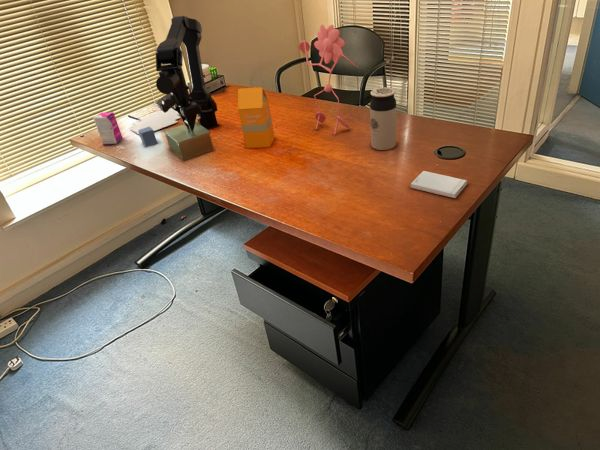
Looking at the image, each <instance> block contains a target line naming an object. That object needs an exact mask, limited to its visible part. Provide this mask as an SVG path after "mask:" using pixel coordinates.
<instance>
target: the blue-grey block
mask: <svg viewBox="0 0 600 450" xmlns="http://www.w3.org/2000/svg"><path fill="white" fill-rule="evenodd" d="M138 132H139V134H140V135H139V134H138V135H139V137H140V141H141V143H142V145H143V146H144V147H146V148H147V147H150V146H153V145H156V144H158V140H157V137H156V134H155V131H153V129H152V128H151V127H146V128H143V129H140V130H138Z"/></svg>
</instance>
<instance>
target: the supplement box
mask: <svg viewBox="0 0 600 450" xmlns="http://www.w3.org/2000/svg"><path fill="white" fill-rule="evenodd" d="M93 121H94V124H95V126H96V129H97V132H98V134H99V137H100V139H101V143H102V145H103V146H115V145H117V144H118V143H119V142H121V141H122V140H123V139H124V138H123V135H122V132H121V130H120V126H119V124H118V121H117V118H116V116H115V113H114V112H113V111H110V112H108V111H107V112H100V113H98V114H97V115H96V116H94V117H93Z"/></svg>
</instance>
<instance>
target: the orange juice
mask: <svg viewBox="0 0 600 450" xmlns="http://www.w3.org/2000/svg"><path fill="white" fill-rule="evenodd" d="M237 111H238V116H239V120H240V125H241V129H242V130H241V131H242V134H243V138H244V143H245V149H255V148H271V146H272V144H273V142H274V140H275V131H274V127H273V119H272V114H271V109H270V103H269V98H268V96H267V94H266V92H265V90H264V88H263V86H258V87H257V86H256V87H243V88H241V87H240V88H237Z"/></svg>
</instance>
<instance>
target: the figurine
mask: <svg viewBox="0 0 600 450" xmlns="http://www.w3.org/2000/svg"><path fill="white" fill-rule="evenodd" d="M340 35H341V32H340V30H339V29H337V28H335V26H334V25H333V24H330V25H329V26H327V28H326V26H325V25H324V24H321V25H320V26H319V31H317V32H316V38H317V40H315V41H314V43H313V45H314V48H316V49H317V50H318V51H319V52H318V55H319V57H321V58H320V61H319V63H309V58H308V52H309V51H310V49H311V45H310V43H309V42H308V41H307V40H305V39H304V40H302V41H300V43H299V45H298V48H299V50H300V51H301V52H302V53H303V54H305V59H306V60H305V61H306V64H307V66H318V67H321V68H323V69H324V70H325V71H327V72H329V74H328V75H329V76H328V81H327V84H326V85H324V88H323V90H321V91H319V92H317V93H315V94H314V95H313V98H314V101H315V104H316V107H317V110H318V112H316V113H315V119H316V121H317V122H316V125H315V130H318V128H319V123H321V124H323V123H324V122H325V121H326V119H327V116H326V114H325V113H324V112H322V111H321V110H320V108H319V104H318V101H317V98H316V96H318V95H320V94H321V93H323V92H326V93H331V92H332V93H333V95H334V96H335V97H336V100H337V111H338V112H337V113H338V115H331V116H328V118H331V117H332V118H333V117H335V119H336V125H335V128H334V133H333V135H336V134H337V131H338V126H339V123H340V124H341V125H342V126H344V127H345V128H347V129H348V130H350V128H351V127H350V126H349V124H348V123H347V122H346V121H345V120H344V119H343V118H345V115H340V99H339V97H338V96H337V94H336V93H335V91H334V90H333V85H331V84H330V82H331V76H332V73H333V71H334V68H335V67H336V65H337V64H338V63H339V60H340V58H342V57H344V58H345V59H346V60H347V61H348V62H350V63H351V64H352V65H353V66H354V67H356V68H359V66H358V65H357V64H355V63H354V62H353V61H352V60H351V59H350V58H348V57H347V56H346V55H344V52H343V49H342V48H343V47H344V46H345V45H346V42H345V41H344V39H343V38H341V37H340ZM323 61H324V63H325V64H326V65H327V64H329V63H331V61H332V62H333V63H334V64H333V65H332V66H331V68H330V67H327V66H326V65H323V64H322V63H323ZM346 118H347V119H352V120H354V121H356V122H358V120H357V119H355V118H353V117H350V116H346ZM348 138H350V136H347V137H346V139H348Z"/></svg>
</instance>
